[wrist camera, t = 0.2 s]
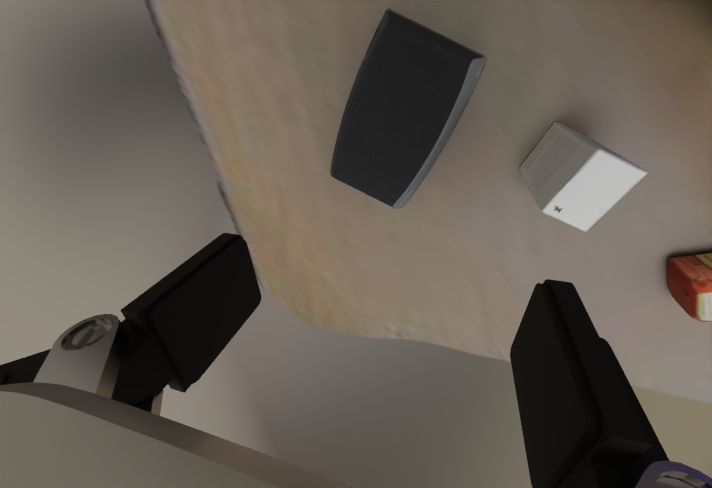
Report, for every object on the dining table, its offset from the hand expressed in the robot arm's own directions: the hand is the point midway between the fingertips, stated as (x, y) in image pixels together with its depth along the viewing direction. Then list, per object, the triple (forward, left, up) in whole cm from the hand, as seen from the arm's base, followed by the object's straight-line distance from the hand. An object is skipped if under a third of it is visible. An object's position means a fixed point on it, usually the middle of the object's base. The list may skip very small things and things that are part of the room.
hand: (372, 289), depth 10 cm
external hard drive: (+1, -5, -32) cm, 32 cm away
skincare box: (+3, +13, -31) cm, 34 cm away
